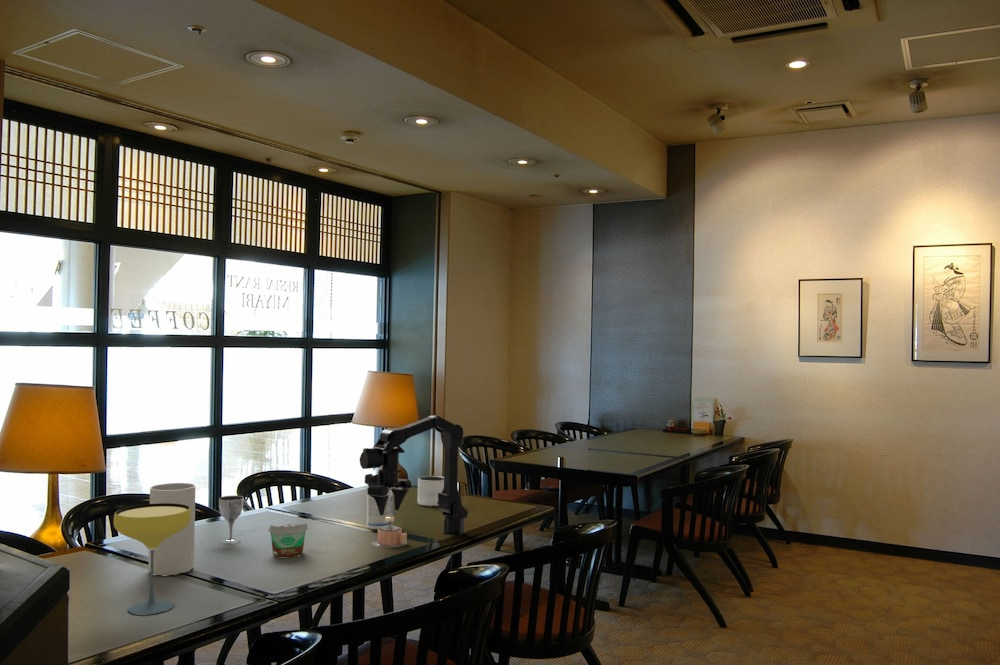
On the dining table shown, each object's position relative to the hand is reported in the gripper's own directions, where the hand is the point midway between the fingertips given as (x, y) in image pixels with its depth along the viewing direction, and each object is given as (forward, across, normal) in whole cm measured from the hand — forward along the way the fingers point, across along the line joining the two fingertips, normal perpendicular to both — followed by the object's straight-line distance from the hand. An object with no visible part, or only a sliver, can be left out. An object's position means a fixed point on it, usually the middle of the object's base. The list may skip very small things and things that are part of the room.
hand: (389, 512), depth 266 cm
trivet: (+11, 0, 0) cm, 11 cm away
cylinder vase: (+12, +56, -40) cm, 69 cm away
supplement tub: (+11, -19, -17) cm, 28 cm away
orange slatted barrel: (+10, 0, 0) cm, 10 cm away
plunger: (+9, 0, 0) cm, 10 cm away
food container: (+11, +27, -20) cm, 35 cm away
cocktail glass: (+12, +82, -18) cm, 84 cm away
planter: (+11, -66, -22) cm, 71 cm away
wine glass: (+11, +22, -50) cm, 56 cm away
